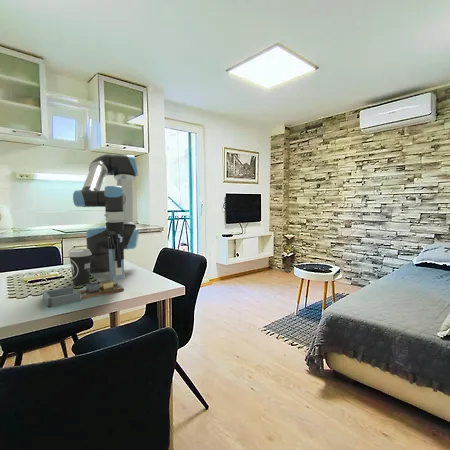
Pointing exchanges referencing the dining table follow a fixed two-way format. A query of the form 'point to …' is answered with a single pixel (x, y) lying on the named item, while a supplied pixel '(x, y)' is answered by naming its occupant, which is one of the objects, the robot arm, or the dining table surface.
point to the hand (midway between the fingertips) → (116, 273)
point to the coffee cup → (80, 265)
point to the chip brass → (106, 285)
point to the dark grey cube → (92, 288)
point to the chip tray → (61, 296)
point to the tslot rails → (100, 292)
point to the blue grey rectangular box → (112, 266)
